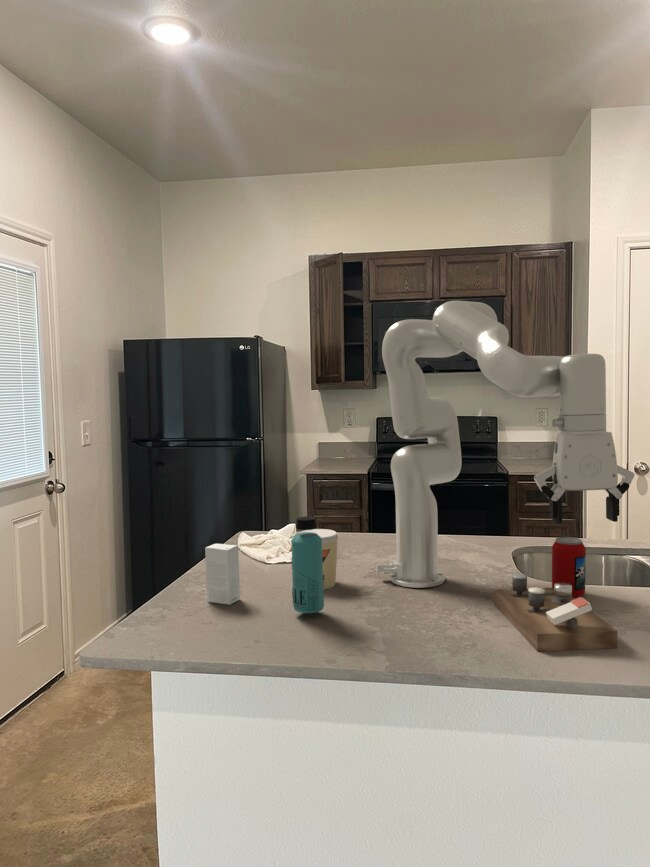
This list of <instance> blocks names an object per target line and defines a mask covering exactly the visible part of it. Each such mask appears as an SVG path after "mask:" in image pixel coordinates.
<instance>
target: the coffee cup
mask: <svg viewBox="0 0 650 867" xmlns="http://www.w3.org/2000/svg"><path fill="white" fill-rule="evenodd" d="M302 532H313V533H316V534H318V535H319V536H320V537H321V538H322V565H323V578H324V579H323V581H324V584H323V590H327V589H331V588H332V587H335V586H336V579H337V578H336V577H337V559H338V556H337V555H338V539H339V535H338V533H337V531H335V530H333V529H327V528H326V529H325V528H316V529H312V530H301V531H300V532H299V533H302Z"/></svg>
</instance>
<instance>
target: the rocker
mask: <svg viewBox="0 0 650 867" xmlns="http://www.w3.org/2000/svg"><path fill="white" fill-rule="evenodd" d="M588 611H593V607H592V606H591V603H590V602H589V601H587V600H586V599H585V598H584V597H582V596H580V597H579V598H575V599H574V600H572V601H570V603H567V604H565V605H562V606H560V607H557V608H555V609H552V610H550V611H547V612H546V614H547V617H548V619H549V620H550V621H551V622H553V623H554V624H555V625H556V624H558V623H561V622H563V621H566V620H568V619H571V618H573V617H576V616H578V615H581V614H583V613H586V612H588Z"/></svg>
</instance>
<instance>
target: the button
mask: <svg viewBox="0 0 650 867" xmlns="http://www.w3.org/2000/svg"><path fill="white" fill-rule="evenodd" d="M554 595H555V596H557V597H561V598H569V597H571V596H572V585H571V584H568V583H555V584H554Z"/></svg>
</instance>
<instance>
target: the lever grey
mask: <svg viewBox="0 0 650 867" xmlns="http://www.w3.org/2000/svg"><path fill="white" fill-rule="evenodd" d="M511 580H512V583H511V585H512V586H511V587H512V588H511V589H513V590H514V591H517V594H519V595H522V594H523V592H525V591H527V589H528V575H527V574H526V573H519V572H518V573H512V579H511Z"/></svg>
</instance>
